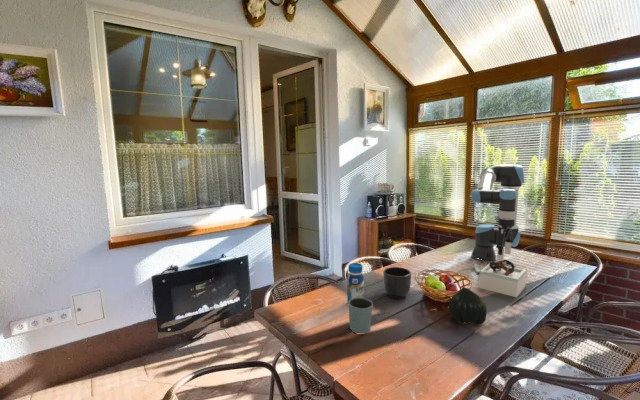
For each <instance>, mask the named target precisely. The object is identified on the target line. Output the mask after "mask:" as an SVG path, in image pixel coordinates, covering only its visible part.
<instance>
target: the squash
mask: <svg viewBox="0 0 640 400" xmlns="http://www.w3.org/2000/svg"><path fill="white" fill-rule="evenodd" d="M448 309H449V310H448V311H449V313H450V315H451V316H452V318H453V319H455V321H456V322H457V323H458V324H465V325H469V324H472V325H473V324H474V325H476V326H479V325H482V324H484V323H485V321H486V318H487V311H488V310H487V309H488V308H487V305H486V303H485V301H484V299H483V298H482V297H481V296H480V295H478V294H477V293H475V292H474V291H473V290H471V289H469V288H467V287H465V286H463V287H462V288H460V289H459V290H458V291H457V292H456V293H454V294H453V296H451V298H450V299H449V303H448Z"/></svg>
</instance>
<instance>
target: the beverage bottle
mask: <svg viewBox="0 0 640 400" xmlns="http://www.w3.org/2000/svg"><path fill="white" fill-rule="evenodd" d="M348 272H349V273H348V275H347V276H346V279H347V281H346V287H347V292H346V293H347V294H346V296H347V297H346V298H347V299H346V300H347V304H348V302H349V300H350V299H352V298H357V297H361V298H365V282H364V280H365V276H364V275H363V264H361V263H359V262H351V263H349V264H348Z"/></svg>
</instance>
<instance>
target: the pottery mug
mask: <svg viewBox="0 0 640 400" xmlns="http://www.w3.org/2000/svg"><path fill="white" fill-rule="evenodd" d="M504 263H506V265H505V264H504ZM488 264H489V263H488ZM492 265H494V267H493V266H492ZM507 265H509V266H510V267H512V268H509V270H507V267H506V266H507ZM489 266H490V268H491V269H493V271H496V269H499V270H501V268H503V269H504V270H505V271H506V273H505V275H506V276H508V275H509V274H511V273H513V272H514V268H516V267H515V264H514V263H513V262H512V261H510V260H508V259H505V258H503V261H501V260H497V262H496V261H490V264H489Z"/></svg>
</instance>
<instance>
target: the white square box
mask: <svg viewBox="0 0 640 400" xmlns="http://www.w3.org/2000/svg"><path fill="white" fill-rule="evenodd" d="M490 263H491V262H490ZM490 263H488V264H487V265H486V266H485V267H483V268H482V269H481V270H479V280H478V281H479V282H478V288H479V289H482V290H487V291H490V292H494V293H498V294H503V295H505V296H509V297H513V298H518V296H519V295H520V294H521V293H522V291H523V290H524V289H525V288H526V280H527V269H524V268H519V267H515V268H514V272H513V273H511V274H509V275H508V276H506V275H505V273H506V271H505V270H504V269H503V268H501V270H499V269H496V271H493V269H491V268H490V266H489V264H490ZM492 266H493V267H494V265H492ZM505 266H506V267H507V270H509V268H512V267H511V265H509V266H508V265H505Z"/></svg>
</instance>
